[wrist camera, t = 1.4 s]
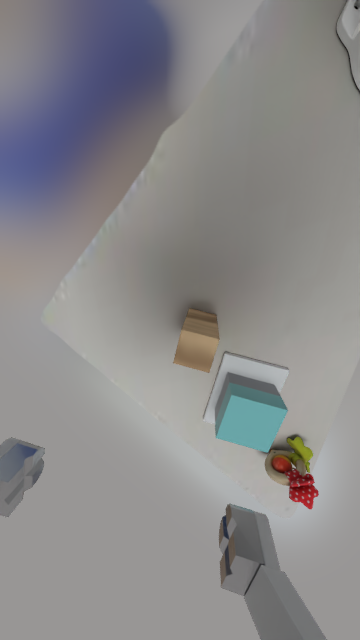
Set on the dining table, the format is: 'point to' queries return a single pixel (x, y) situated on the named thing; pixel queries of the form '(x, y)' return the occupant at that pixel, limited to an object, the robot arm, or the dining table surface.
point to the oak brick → (198, 341)
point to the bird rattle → (297, 479)
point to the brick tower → (247, 401)
